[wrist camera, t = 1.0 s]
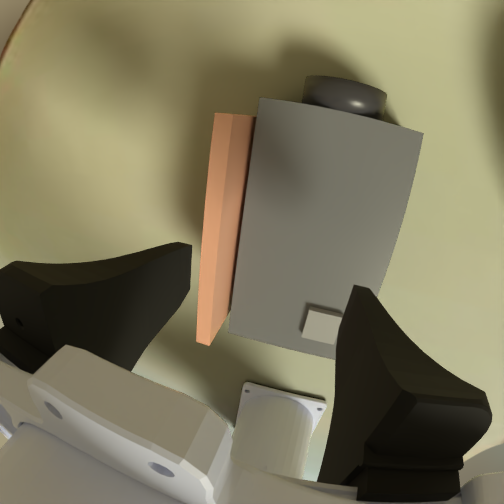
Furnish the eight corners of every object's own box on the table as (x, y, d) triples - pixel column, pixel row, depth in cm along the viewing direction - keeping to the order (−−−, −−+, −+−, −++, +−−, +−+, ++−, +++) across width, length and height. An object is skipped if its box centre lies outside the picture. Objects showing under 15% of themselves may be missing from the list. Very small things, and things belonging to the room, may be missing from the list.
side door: (244, 286, 23) (209, 346, 17) (233, 283, 23) (196, 341, 17) (269, 117, 18) (233, 114, 12) (256, 116, 18) (214, 112, 12)
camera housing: (349, 322, 22) (349, 367, 18) (246, 297, 24) (226, 336, 19) (408, 107, 16) (431, 101, 11) (280, 79, 17) (262, 65, 13)
